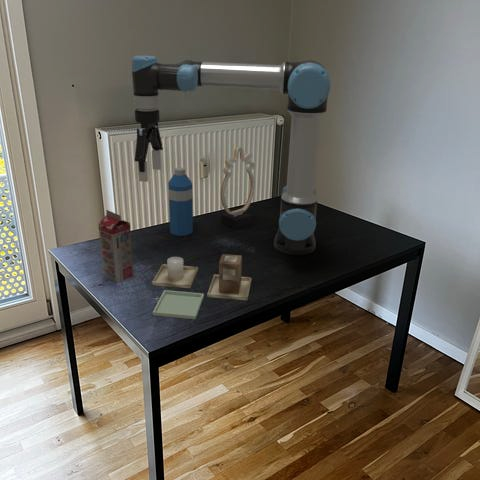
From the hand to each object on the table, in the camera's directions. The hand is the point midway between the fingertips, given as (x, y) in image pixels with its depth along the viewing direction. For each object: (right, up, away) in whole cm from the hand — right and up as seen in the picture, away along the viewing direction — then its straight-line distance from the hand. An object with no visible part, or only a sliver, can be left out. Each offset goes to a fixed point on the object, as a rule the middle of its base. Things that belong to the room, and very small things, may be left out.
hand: (150, 175), depth 157 cm
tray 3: (+26, -37, -11) cm, 47 cm away
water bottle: (+7, -18, +29) cm, 35 cm away
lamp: (+28, -15, +38) cm, 49 cm away
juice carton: (-9, -33, -5) cm, 35 cm away
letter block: (+26, -36, -11) cm, 46 cm away
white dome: (+9, -33, -6) cm, 35 cm away
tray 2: (+12, -41, -20) cm, 47 cm away
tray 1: (+9, -34, -5) cm, 35 cm away
